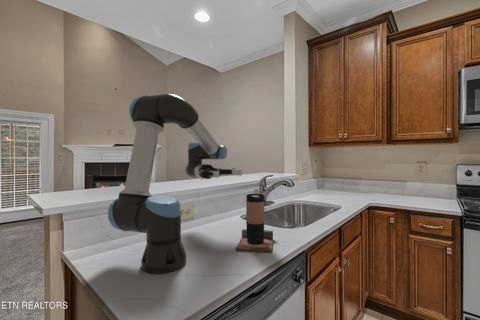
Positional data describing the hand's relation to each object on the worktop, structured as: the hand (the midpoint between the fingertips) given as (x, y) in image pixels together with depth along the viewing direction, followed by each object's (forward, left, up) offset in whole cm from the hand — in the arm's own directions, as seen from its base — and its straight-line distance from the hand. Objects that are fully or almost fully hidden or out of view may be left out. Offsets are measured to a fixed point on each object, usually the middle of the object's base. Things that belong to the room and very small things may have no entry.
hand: (230, 173), depth 109 cm
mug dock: (-6, -12, -30) cm, 33 cm away
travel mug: (-6, -12, -29) cm, 32 cm away
